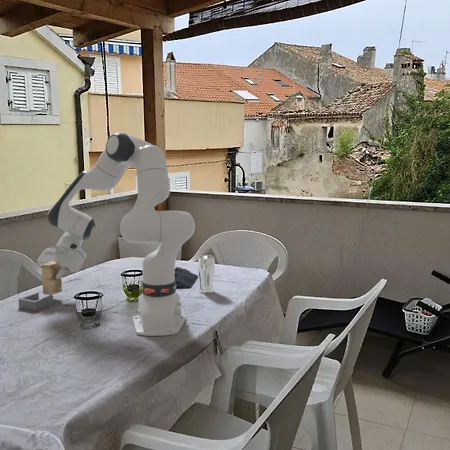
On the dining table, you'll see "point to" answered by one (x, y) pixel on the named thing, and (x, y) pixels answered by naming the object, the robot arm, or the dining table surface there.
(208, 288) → the beer glass
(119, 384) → the dining table surface
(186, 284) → the dark slate chunk
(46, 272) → the tan rectangular block
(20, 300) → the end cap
